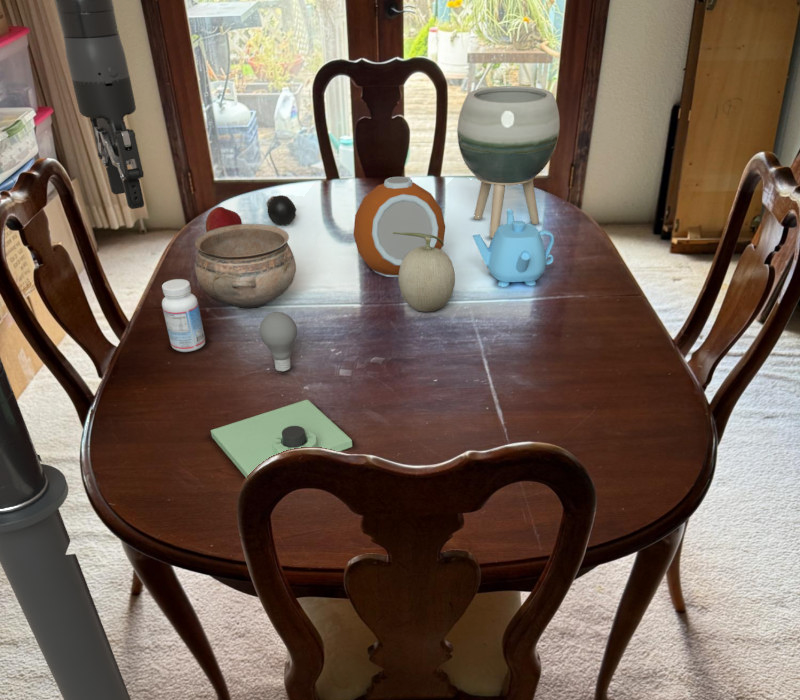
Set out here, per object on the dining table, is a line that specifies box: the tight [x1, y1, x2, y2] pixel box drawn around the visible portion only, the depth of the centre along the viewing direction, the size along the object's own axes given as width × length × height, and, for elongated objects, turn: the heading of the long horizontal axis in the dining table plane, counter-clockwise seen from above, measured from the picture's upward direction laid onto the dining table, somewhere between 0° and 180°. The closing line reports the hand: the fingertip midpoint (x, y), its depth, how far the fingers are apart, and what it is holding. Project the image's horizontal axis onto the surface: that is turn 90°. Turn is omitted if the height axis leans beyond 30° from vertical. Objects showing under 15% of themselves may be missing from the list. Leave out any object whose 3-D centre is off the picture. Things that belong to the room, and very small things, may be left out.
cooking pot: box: [194, 223, 297, 310], centre depth 149 cm, size 25×19×12 cm
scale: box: [210, 399, 353, 479], centre depth 113 cm, size 16×15×3 cm
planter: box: [456, 85, 561, 239], centre depth 175 cm, size 22×22×28 cm
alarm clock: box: [353, 176, 446, 278], centre depth 161 cm, size 19×18×17 cm
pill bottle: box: [161, 278, 206, 353], centre depth 135 cm, size 6×6×11 cm
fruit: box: [393, 232, 456, 313], centre depth 145 cm, size 10×12×15 cm
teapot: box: [472, 208, 555, 288], centre depth 156 cm, size 15×14×11 cm
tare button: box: [282, 426, 306, 448], centre depth 108 cm, size 3×3×2 cm
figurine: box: [265, 195, 297, 227], centre depth 192 cm, size 8×7×18 cm
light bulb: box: [259, 311, 298, 372], centre depth 128 cm, size 6×6×10 cm
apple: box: [205, 206, 243, 233], centre depth 176 cm, size 8×8×8 cm
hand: (128, 200), depth 115 cm, fingers open, 8 cm apart
